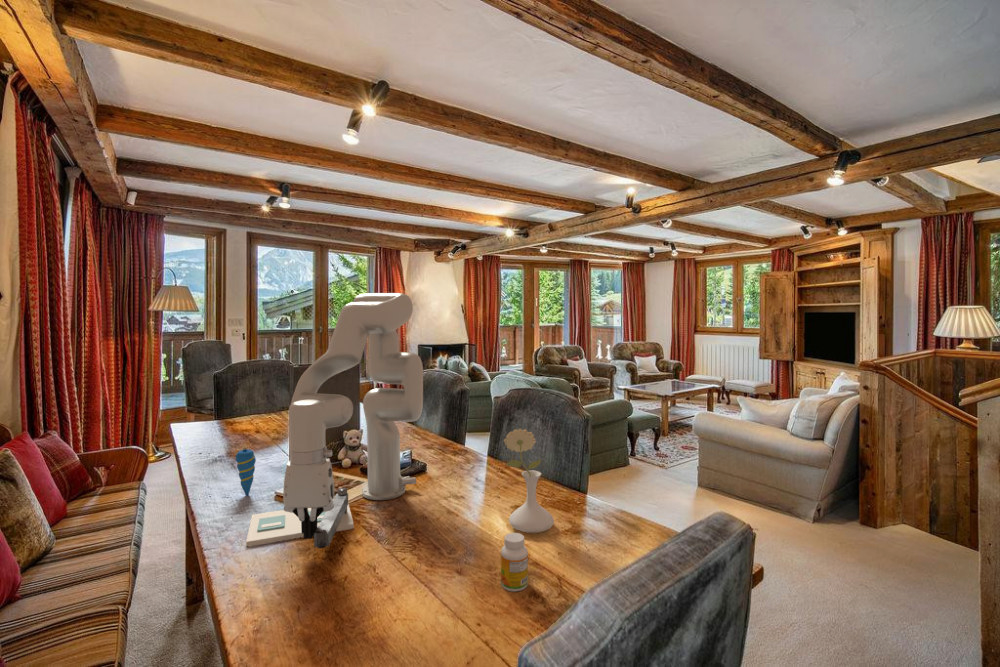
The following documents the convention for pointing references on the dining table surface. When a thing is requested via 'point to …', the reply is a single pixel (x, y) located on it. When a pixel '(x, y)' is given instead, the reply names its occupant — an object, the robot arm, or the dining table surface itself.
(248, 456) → the ornament
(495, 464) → the dining table surface
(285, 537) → the label board
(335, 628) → the dining table surface
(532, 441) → the flower in vase
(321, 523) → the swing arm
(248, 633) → the dining table surface
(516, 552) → the supplement bottle
